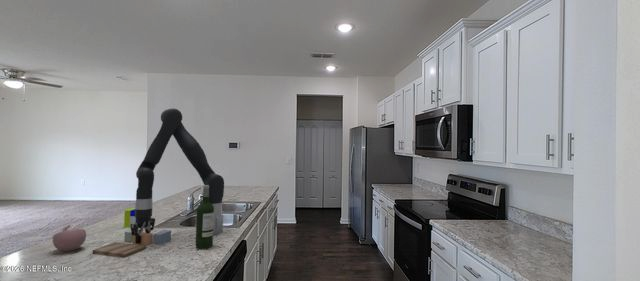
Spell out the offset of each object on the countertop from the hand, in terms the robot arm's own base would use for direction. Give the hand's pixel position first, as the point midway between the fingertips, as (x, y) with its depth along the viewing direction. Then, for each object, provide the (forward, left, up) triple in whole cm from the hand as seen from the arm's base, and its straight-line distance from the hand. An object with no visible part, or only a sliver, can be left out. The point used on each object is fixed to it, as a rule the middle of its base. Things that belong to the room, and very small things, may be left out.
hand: (142, 241), depth 155 cm
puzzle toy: (+28, -27, -1) cm, 39 cm away
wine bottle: (-31, -5, -1) cm, 31 cm away
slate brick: (-7, -5, -1) cm, 9 cm away
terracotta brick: (0, 0, -1) cm, 1 cm away
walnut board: (+1, +12, -1) cm, 12 cm away
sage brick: (+9, -4, -1) cm, 10 cm away
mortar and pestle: (+23, +18, -1) cm, 29 cm away
